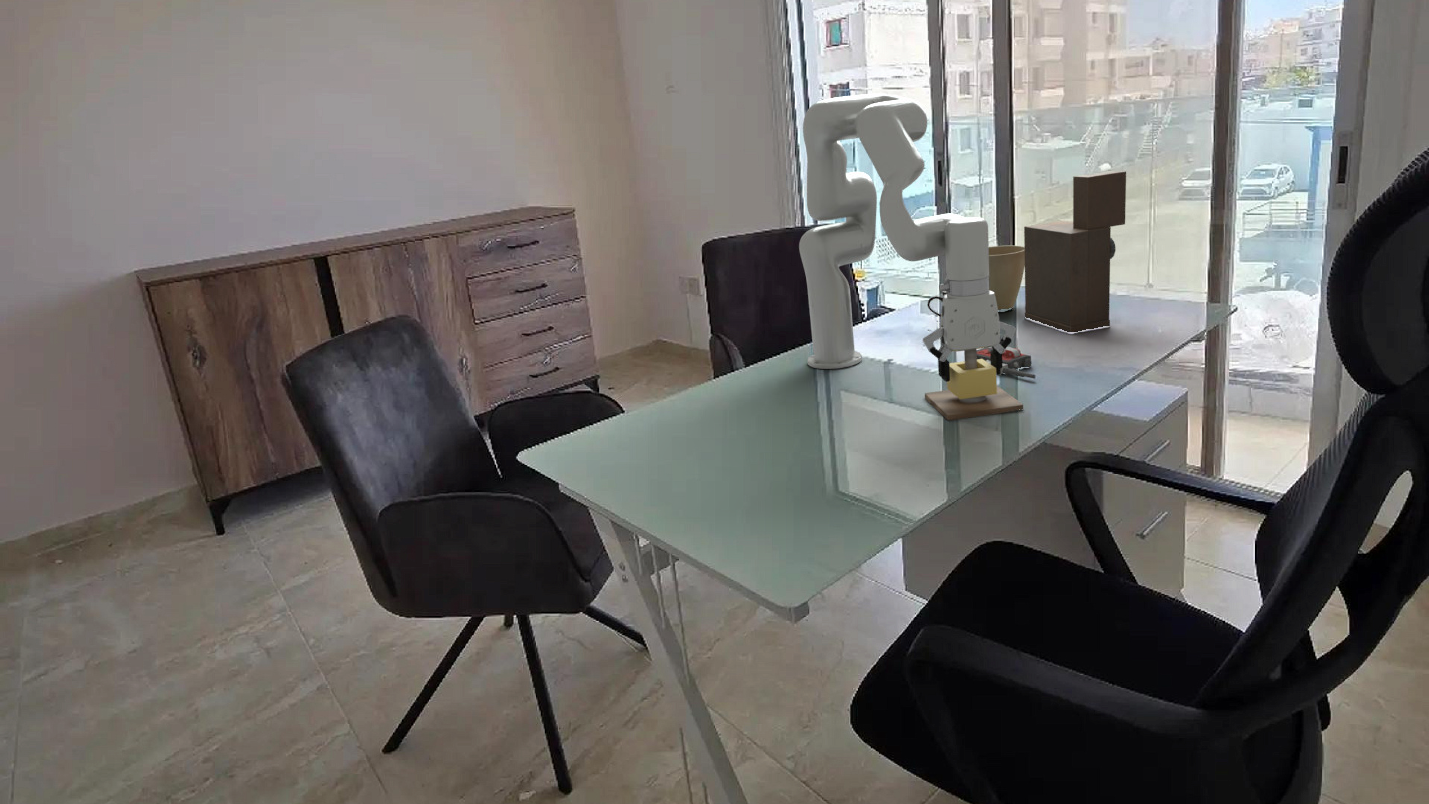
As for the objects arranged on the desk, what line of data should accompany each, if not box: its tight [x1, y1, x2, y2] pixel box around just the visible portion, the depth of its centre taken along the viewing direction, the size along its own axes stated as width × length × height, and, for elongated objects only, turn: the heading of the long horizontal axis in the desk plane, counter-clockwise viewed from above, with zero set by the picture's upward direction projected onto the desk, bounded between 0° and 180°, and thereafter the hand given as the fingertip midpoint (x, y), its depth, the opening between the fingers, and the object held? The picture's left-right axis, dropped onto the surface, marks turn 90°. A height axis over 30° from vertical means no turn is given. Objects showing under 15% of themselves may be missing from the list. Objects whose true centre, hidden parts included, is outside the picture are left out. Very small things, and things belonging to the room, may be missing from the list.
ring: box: [946, 359, 998, 399], centre depth 165 cm, size 7×7×5 cm
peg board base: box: [924, 349, 1024, 421], centre depth 164 cm, size 14×14×11 cm
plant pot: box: [989, 245, 1025, 310], centre depth 230 cm, size 15×15×16 cm
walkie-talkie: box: [976, 346, 1036, 380], centre depth 183 cm, size 9×4×20 cm
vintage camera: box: [1023, 170, 1127, 332], centre depth 207 cm, size 19×14×35 cm
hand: (970, 376), depth 165 cm, fingers open, 9 cm apart
